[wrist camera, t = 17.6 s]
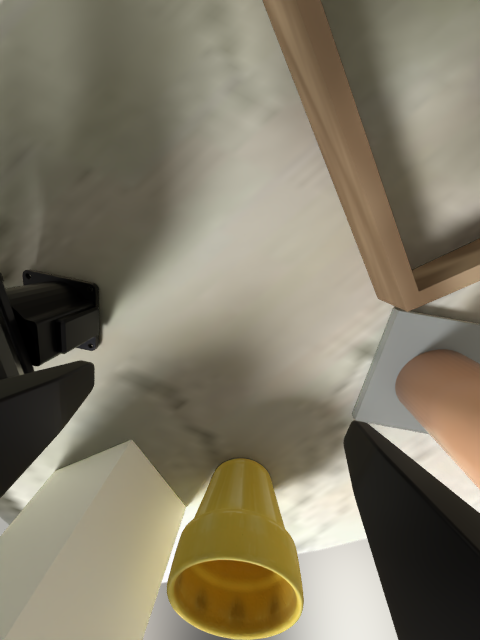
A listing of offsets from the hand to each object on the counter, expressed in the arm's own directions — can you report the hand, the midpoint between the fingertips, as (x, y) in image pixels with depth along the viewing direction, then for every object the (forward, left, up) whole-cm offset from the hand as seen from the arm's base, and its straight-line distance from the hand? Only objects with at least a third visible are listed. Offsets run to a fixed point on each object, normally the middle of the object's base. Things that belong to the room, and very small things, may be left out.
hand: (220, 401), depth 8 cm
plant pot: (+4, -20, -13) cm, 24 cm away
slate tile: (+18, -3, -13) cm, 22 cm away
